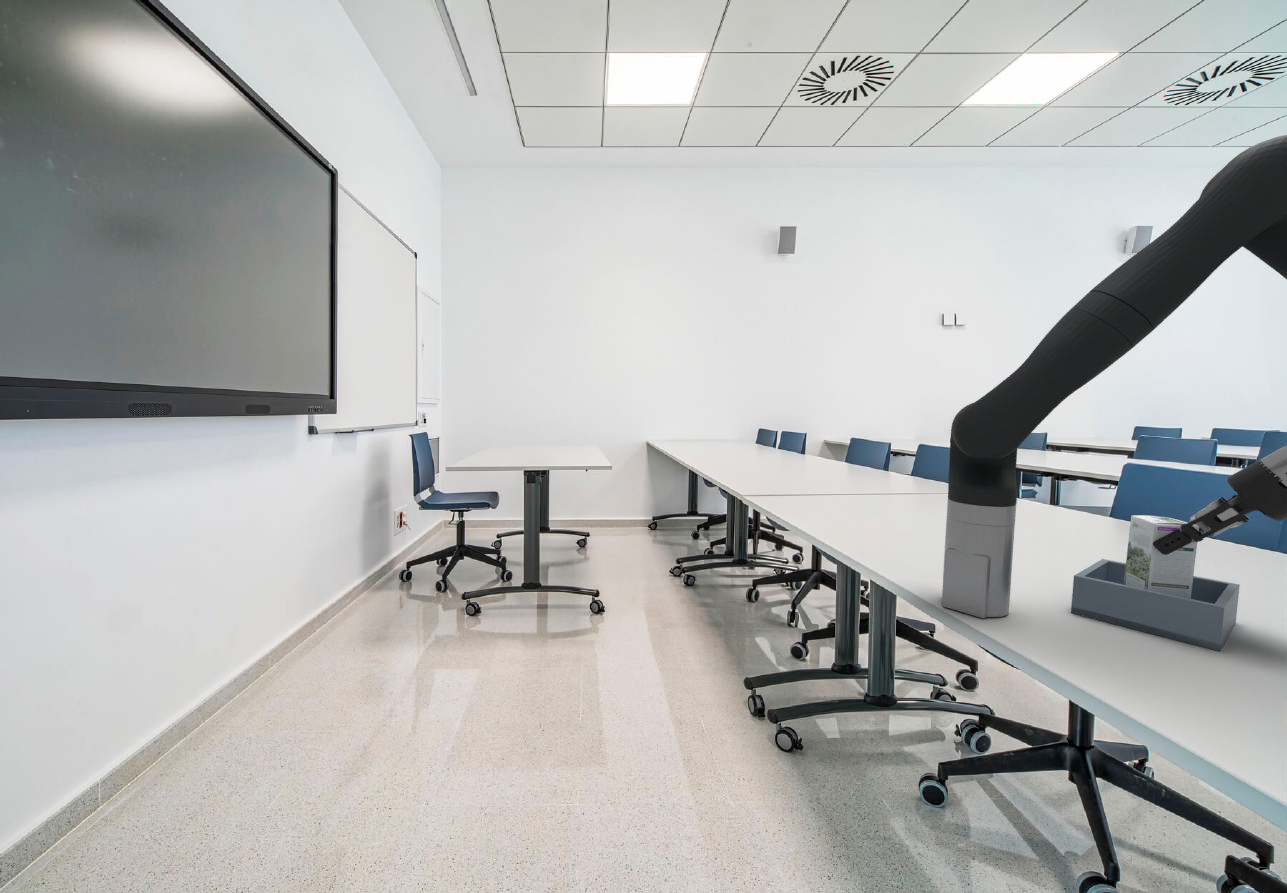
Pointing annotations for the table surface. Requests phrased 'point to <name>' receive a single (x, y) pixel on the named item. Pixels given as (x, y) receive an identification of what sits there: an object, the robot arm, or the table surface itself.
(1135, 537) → the syrup box
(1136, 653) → the table surface
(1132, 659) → the table surface
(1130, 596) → the tote
